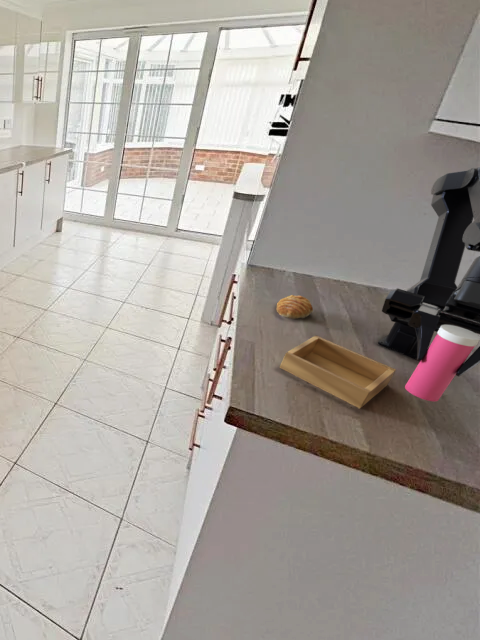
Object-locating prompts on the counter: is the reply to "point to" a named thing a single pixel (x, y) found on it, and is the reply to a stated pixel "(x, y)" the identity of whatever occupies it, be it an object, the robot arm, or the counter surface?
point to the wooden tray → (337, 370)
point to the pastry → (294, 307)
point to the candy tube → (441, 362)
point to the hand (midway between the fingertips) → (437, 367)
